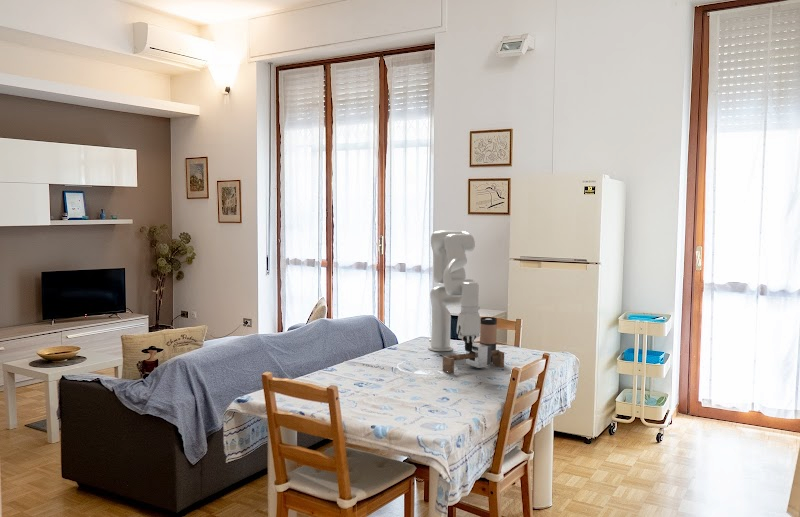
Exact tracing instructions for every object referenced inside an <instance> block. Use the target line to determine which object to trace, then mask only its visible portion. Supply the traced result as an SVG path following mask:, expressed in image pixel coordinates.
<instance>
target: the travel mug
mask: <svg viewBox="0 0 800 517" xmlns="http://www.w3.org/2000/svg"><path fill="white" fill-rule="evenodd" d="M497 319H498V318H496V317H494V316H493V317H492V316H482V317H480V325H481V330H480V334H479V335H480V336H479V344H484V345H487V346H490V347H491V351H493V350H497V336H498V335H497V327H498V326H497V324H498V320H497ZM492 358H493V356H491V363H492Z"/></svg>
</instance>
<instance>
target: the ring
mask: <svg viewBox="0 0 800 517" xmlns="http://www.w3.org/2000/svg"><path fill="white" fill-rule="evenodd" d="M481 345H484V344H481ZM484 346H487V345H484ZM487 347H488V350H487V366H491V365H492V362H491V347H490V346H487Z"/></svg>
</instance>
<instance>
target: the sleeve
mask: <svg viewBox="0 0 800 517" xmlns="http://www.w3.org/2000/svg"><path fill="white" fill-rule="evenodd" d="M487 350H488V347H487V346H484V345H481V344H480V343H478V342H473V345H472V351H470V352H468V351H465V352H466V353H465V354H467V353H475V358H471V359H465V364H466V365H469V366H472V367H475V368H478V369H479V368H487V367H488V365H487Z"/></svg>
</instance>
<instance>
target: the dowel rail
mask: <svg viewBox="0 0 800 517" xmlns="http://www.w3.org/2000/svg"><path fill="white" fill-rule="evenodd" d="M491 356H493V358H492V362H491V365H493V366H496V367H498V366H499V368H504V367H505V352H503V351H501V350H499V349H496V350H493V351H491ZM471 358H475V353H467V354H466V353H462V354H461V353H459V354H449V355H443V356H442V371H443V372H445V371H448V372H449V373H453V374H455V361H461V360H466V359H471ZM449 373H448V374H449Z"/></svg>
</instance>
